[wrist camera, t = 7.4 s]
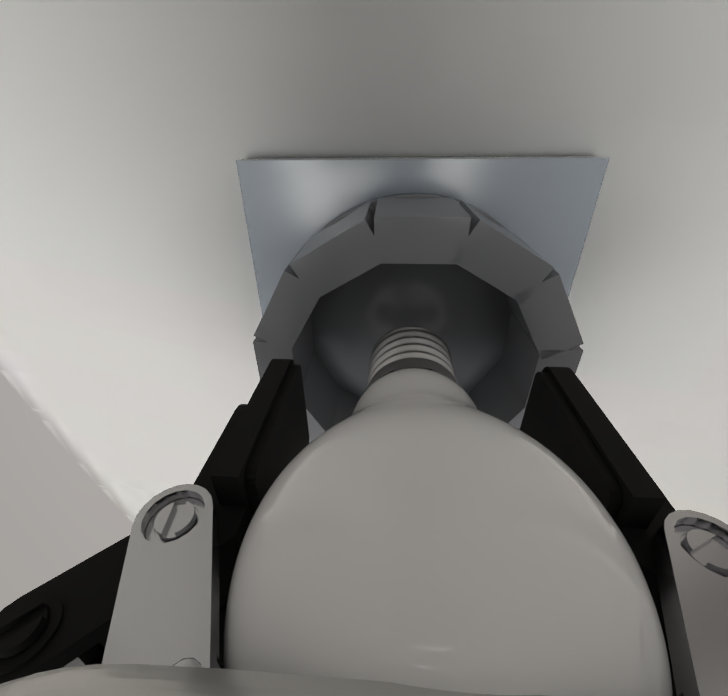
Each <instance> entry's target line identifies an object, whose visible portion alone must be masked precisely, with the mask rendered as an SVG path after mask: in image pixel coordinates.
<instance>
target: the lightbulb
mask: <svg viewBox="0 0 728 696" xmlns="http://www.w3.org/2000/svg"><path fill="white" fill-rule="evenodd" d="M223 666H224V669H234V670H247V671H259V672H272V673H284V674H297V675H309V676H321V677H334V678H346V679H359V680H371V681H383V682H392V683H397V684H403V685H409V686H415V687H421V688H429V689H436V690H444V691H453V692H464V693H477V694H495V695H547V696H673V689H672V678H671V671H670V664H669V658H668V653H667V648H666V643H665V639H664V634H663V630H662V626H661V623H660V619H659V616H658V612H657V609H656V606H655V603H654V600H653V597H652V594H651V592H650V589H649V586H648V584H647V581H646V579H645V577H644V574H643V572H642V570H641V568H640V565H639V563H638V561H637V559H636V557H635V555H634V553H633V551H632V549H631V548H630V546H629V544H628V542H627V540H626V539H625V537H624V535H623V534H622V532H621V530H620V529H619V527H618V525H617V524H616V522H615V521H614V519H613V518H612V517H611V515H610V514H609V512H608V511H607V509H606V508H605V507H604V505H603V504H602V503H601V501H600V500H599V499H598V498H597V496H596V495H595V494H594V493H593V492H592V490H591V489H590V488H589V487H588V486H587V485H586V484H585V482H584V481H583V480H582V479H581V478H580V477H579V476H578V475H577V474H576V473H575V472H574V471H573V470H572V469H571V468H570V467H569V466H568V465H567V464H566V463H565V462H563V461H562V460H561V459H560V458H559V457H558V456H556V455H555V454H554V453H553V452H552V451H550V450H549V449H548V448H546V447H545V446H544V445H542V444H541V443H540V442H538V441H537V440H535V439H534V438H532V437H531V436H529V435H528V434H526V433H524V432H523V431H521V430H519V429H518V428H516V427H514V426H512V425H510V424H509V423H507V422H505V421H503V420H501V419H499V418H496V417H494V416H492V415H490V414H487V413H485V412H483V411H480V410H478V408H477V407H476V405H475V403H474V402H473V400H472V399H471V398H470V396H469V395H468V394H467V393H466V391H465V390H464V389H463V388H462V387H461V386H459V385H458V383H457V379H456V375H455V371H454V367H453V363H452V359H451V354H450V351H449V348H448V346H447V344H446V343H445V341H444V340H443V339H442V338H441V337H440V336H439V335H438V334H436V333H435V332H433V331H431V330H429V329H426V328H422V327H417V326H406V327H400V328H397V329H394V330H392V331H390V332H388V333H386V334H385V335H383V336H382V337H381V338H380V339H379V340H378V341H377V343H376V344H375V346H374V348H373V350H372V353H371V359H370V368H369V376H368V385H367V390H366V391H365V392H364V393H363V395H362V396H361V397H360V399H359V401H358V402H357V404H356V406H355V408H354V411H353V413H352V415H351V416H349V417H348V418H346V419H344V420H342V421H340V422H339V423H337V424H336V425H334V426H332V427H331V428H329V429H328V430H326V431H325V432H323V433H322V434H321V435H319V436H318V437H317V438H315V439H314V440H313V441H312V442H310V443H309V444H308V445H307V446H306V447H305V448H303V449H302V450H301V451H300V452H299V453H298V454H297V455H296V456H295V457H294V458H293V459H292V460H291V461H290V462H289V464H288V465H287V466H286V467H285V468H284V469H283V471H282V472H281V473H280V474H279V475H278V477H277V478H276V479H275V481H274V482H273V484H272V485H271V486H270V488H269V489H268V491H267V492H266V494H265V496H264V497H263V499H262V501H261V502H260V504H259V506H258V508H257V510H256V511H255V513H254V515H253V517H252V519H251V522H250V524H249V526H248V528H247V530H246V533H245V535H244V538H243V541H242V543H241V546H240V549H239V552H238V555H237V558H236V562H235V565H234V569H233V573H232V578H231V582H230V587H229V592H228V599H227V605H226V613H225V623H224V640H223Z"/></svg>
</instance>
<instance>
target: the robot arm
mask: <svg viewBox="0 0 728 696" xmlns="http://www.w3.org/2000/svg"><path fill="white" fill-rule="evenodd" d="M520 430H521V431H523V432H524V433H526V434H528V435H529V436H531V437H532V438H534V439H535V440H537V441H538V442H540V443H541V444H542V445H544V446H545V447H546V448H548V449H549V450H550V451H552V452H553V453H554V454H555V455H556V456H558V457H559V458H560V459H561V460H562V461H563V462H565V463H566V464H567V465H568V466H569V467H570V468H571V469H572V470H573V471H574V472H575V473H576V474H577V475H578V476H579V477H580V478H581V479H582V480H583V481H584V482H585V484H586V485H587V486H588V487H589V488H590V489H591V490H592V492H593V493H594V494H595V495H596V496H597V498H598V499H599V500H600V501H601V503H602V504H603V505H604V507H605V508H606V509H607V511H608V512H609V514H610V515H611V517H612V518H613V519H614V521H615V522H616V524H617V525H618V527H619V529H620V530H621V532H622V534H623V535H624V537H625V539H626V540H627V542H628V544H629V546H630V548H631V549H632V551H633V553H634V555H635V557H636V559H637V561H638V563H639V565H640V568H641V570H642V572H643V574H644V577H645V579H646V581H647V584H648V586H649V589H650V592H651V594H652V597H653V600H654V603H655V606H656V609H657V612H658V616H659V619H660V623H661V626H662V630H663V634H664V639H665V643H666V648H667V653H668V658H669V664H670V671H671V678H672V689H673V696H728V525H727V524H725V523H724V522H722V521H720V520H719V519H716V518H714V517H711V516H709V515H706V514H704V513H700V512H695V511H691V510H677V511H675V509H674V508H673V507H672V505H671V504H670V503H669V501H668V500H667V498H666V497H665V495H664V494H663V493H662V491H661V490H660V489H659V487H658V486H657V485H656V483H655V482H654V481H653V479H652V478H651V477H650V475H649V474H648V472H647V471H646V470H645V468H644V467H643V466H642V464H641V463H640V462H639V460H638V459H637V458H636V456H635V455H634V453H633V452H632V451H631V449H630V448H629V447H628V445H627V444H626V443H625V441H624V440H623V439H622V437H621V436H620V434H619V433H618V432H617V430H616V429H615V428H614V426H613V425H612V424H611V422H610V421H609V420H608V418H607V417H606V415H605V414H604V413H603V411H602V410H601V409H600V407H599V406H598V405H597V403H596V402H595V401H594V399H593V398H592V396H591V395H590V394H589V392H588V391H587V390H586V388H585V387H584V386H583V384H582V383H581V382H580V380H579V379H578V378H577V376H576V375H575V373H574V372H573V371H572V370H571V369H570V368H569V367H547V366H546V367H544V369H543V370H542V372H537V373H536V374H535V377H534V380H533V384H532V387H531V391H530V394H529V398H528V401H527V405H526V409H525V412H524V416H523V419H522V423H521V426H520ZM308 444H309V429H308V421H307V412H306V404H305V396H304V387H303V379H302V371H301V366H300V365H296V364H294V361H293V360H292V359H272V360H271V361H270V363H269V365H268V367H267V369H266V370H265V372H264V374H263V376H262V378H261V380H260V382H259V384H258V386H257V388H256V389H255V391H254V393H253V395H252V397H251V399H250V401H249V403H248V404H241V405H239V406H238V407H237V408H236V410H235V411H234V413H233V415H232V417H231V419H230V420H229V422H228V424H227V426H226V428H225V429H224V431H223V433H222V435H221V436H220V438H219V440H218V442H217V444H216V445H215V447H214V449H213V451H212V452H211V454H210V456H209V458H208V460H207V461H206V463H205V465H204V467H203V468H202V470H201V472H200V474H199V476H198V477H197V479H196V481H195V483H194V485H192V484H185V485H178V486H175V487H172V488H169V489H167V490H164V491H163V492H161V493H159V494H158V495H156V496H154V497H153V498H152V499H151V500H150V501H149V502H147V503H146V504H145V505H144V506H143V508H142V509H141V510H140V512H139V513H138V514H137V516H136V518H135V521H134V523H133V526H132V529H131V534H130V535H129V536H127V537H125V538H124V539H122V540H120V541H118V542H117V543H115V544H113V545H111V546H110V547H108V548H106V549H104V550H103V551H101V552H99V553H97V554H95V555H94V556H92V557H90V558H88V559H87V560H85V561H84V562H81V563H80V564H78V565H76V566H75V567H73V568H71V569H69V570H67V571H66V572H64V573H62V574H61V575H59V576H57V577H55V578H53V579H52V580H50V581H48V582H46V583H45V584H43V585H41V586H39V587H38V588H36V589H34V590H32V591H30V592H29V593H27V594H25V595H23V596H22V597H20V598H19V599H17V600H16V601H14V602H13V603H11V604H10V605H8V606H7V607H5V608H4V609H3V610H2V611H1V612H0V696H547V695H495V694H477V693H464V692H453V691H444V690H436V689H429V688H421V687H415V686H409V685H403V684H397V683H392V682H383V681H371V680H359V679H346V678H334V677H321V676H309V675H297V674H284V673H272V672H259V671H247V670H234V669H224V666H223V640H224V623H225V613H226V605H227V599H228V592H229V587H230V582H231V578H232V573H233V569H234V565H235V562H236V558H237V555H238V552H239V549H240V546H241V543H242V541H243V538H244V535H245V533H246V530H247V528H248V526H249V524H250V522H251V519H252V517H253V515H254V513H255V511H256V510H257V508H258V506H259V504H260V502H261V501H262V499H263V497H264V496H265V494H266V492H267V491H268V489H269V488H270V486H271V485H272V484H273V482H274V481H275V479H276V478H277V477H278V475H279V474H280V473H281V472H282V471H283V469H284V468H285V467H286V466H287V465H288V464H289V462H290V461H291V460H292V459H293V458H294V457H295V456H296V455H297V454H298V453H299V452H300V451H301V450H302V449H303V448H305V447H306V446H307V445H308Z"/></svg>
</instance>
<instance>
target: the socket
mask: <svg viewBox="0 0 728 696" xmlns="http://www.w3.org/2000/svg"><path fill="white" fill-rule="evenodd" d="M608 161H609V158H607V157H599V156H524V157H395V158H265V159H242V160H237V161H236V163H237V169H238V174H239V180H240V186H241V192H242V198H243V204H244V210H245V216H246V222H247V227H248V233H249V239H250V245H251V251H252V257H253V263H254V269H255V275H256V280H257V286H258V292H259V298H260V304H261V310H262V316H263V317H262V319H261V321H260V323H259V326H258V328H257V330H256V332H255V334H254V336H256V339H255V340H254V342H253V344H254V349H255V354H256V360H257V365H258V370H259V375H260V380H261V378H262V376H263V374H264V372H265V370H266V369H267V367H268V365H269V363H270V361H271V360H272V359H292V360H293V361H294V364H296V365H300V366H301V371H302V379H303V387H304V396H305V404H306V412H307V421H308V429H309V443H310V442H312V441H313V440H314V439H315V438H317V437H318V436H319V435H321V434H322V433H323V432H325V431H326V430H328V429H329V428H331V427H332V426H334V425H336V424H337V423H339V422H340V421H342V420H344V419H346V418H348V417H349V416H351V415H352V413H353V411H354V408H355V406H356V404H357V402H358V401H359V399H360V397H361V396H362V395H363V393H364V392H365V391H366V390H367V385H368V376H369V368H370V359H371V353H372V350H373V348H374V346H375V344H376V343H377V341H378V340H379V339H380V338H381V337H382V336H383V335H385V334H386V333H388V332H390V331H392V330H394V329H397V328H400V327H406V326H417V327H422V328H426V329H429V330H431V331H433V332H435V333H436V334H438V335H439V336H440V337H441V338H442V339H443V340H444V341H445V343H446V344H447V346H448V348H449V351H450V354H451V359H452V363H453V367H454V371H455V375H456V379H457V383H458V385H459V386H461V387H462V388H463V389H464V390H465V391H466V393H467V394H468V395H469V396H470V398H471V399H472V400H473V402H474V403H475V405H476V407H477V408H478V410H480V411H483V412H485V413H487V414H490V415H492V416H494V417H496V418H499V419H501V420H503V421H505V422H507V423H509V424H510V425H512V426H514V427H516V428H518V429H519V430H520V426H521V423H522V419H523V416H524V412H525V409H526V405H527V401H528V398H529V394H530V391H531V387H532V384H533V380H534V377H535V374H536V373H537V372H542V370H543V369H544V367H546V366H547V367H569V368H570V369H571V370H572V371H573V372H574V373H576V370H577V367H578V364H579V361H580V359H581V356H582V353H583V350H582V349H581V348H580V346H579V345H582V344H583V341H582V338H581V335H580V332H579V330H578V327H577V324H576V321H575V318H574V315H573V312H572V309H571V306H570V303H569V300H568V296H569V292H570V289H571V286H572V282H573V279H574V276H575V272H576V269H577V266H578V262H579V259H580V255H581V252H582V249H583V245H584V242H585V239H586V235H587V232H588V228H589V225H590V222H591V218H592V215H593V212H594V208H595V205H596V202H597V198H598V195H599V191H600V188H601V185H602V181H603V178H604V175H605V171H606V168H607V164H608Z"/></svg>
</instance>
